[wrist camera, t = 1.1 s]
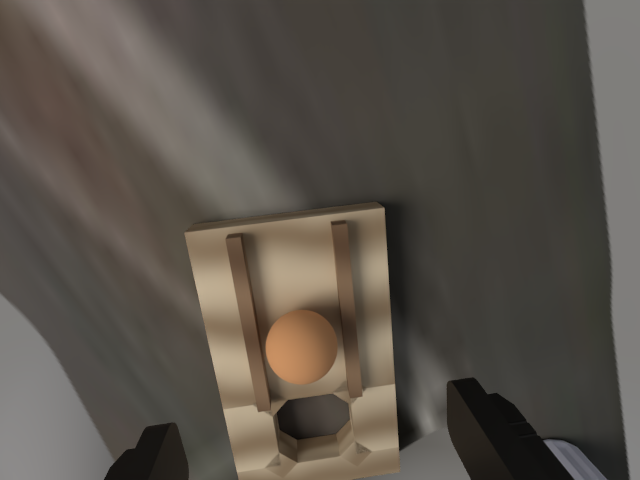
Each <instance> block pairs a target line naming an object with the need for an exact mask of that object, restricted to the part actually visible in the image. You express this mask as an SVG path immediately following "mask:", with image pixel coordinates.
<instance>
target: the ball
mask: <svg viewBox="0 0 640 480" xmlns="http://www.w3.org/2000/svg"><path fill="white" fill-rule="evenodd" d="M337 350H338V343H337V337H336V334H335V331H334V329H333V327H332V326H331V324H330V323H329V322H328V321H327V320H326V319H325V318H324V317H323V316H321V315H320V314H318V313H316V312H313V311H309V310H295V311H291V312H289V313H286V314H285V315H283V316H281V317H280V318H279V319H278V320H277V321H276V322H275V323H274V324H273V326H272V327H271V329H270V331H269V333H268V336H267V340H266V356H267V359H268V362H269V365H270V366H271V368H272V370H273V371H274V372H275V373H276V374H277V375H278V376H279V377H280V378H282V379H283V380H285V381H287V382H289V383H293V384H298V385H304V384H310V383H313V382H316V381H318V380H319V379H321V378H322V377H324V376H325V375H326V374H327V373H328V372H329V370H330V369H331V368H332V366H333V364H334V362H335V360H336V356H337Z"/></svg>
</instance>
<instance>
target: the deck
mask: <svg viewBox="0 0 640 480" xmlns="http://www.w3.org/2000/svg"><path fill="white" fill-rule="evenodd" d="M185 238H186V242H187V247H188V251H189V256H190V260H191V265H192V269H193V274H194V279H195V283H196V288H197V292H198V297H199V301H200V306H201V310H202V315H203V319H204V324H205V329H206V333H207V338H208V342H209V347H210V351H211V356H212V360H213V365H214V369H215V374H216V378H217V383H218V388H219V392H220V397H221V401H222V406H223V410H224V415H225V419H226V424H227V428H228V433H229V438H230V442H231V447H232V451H233V456H234V460H235V465H236V469H237V474H238V478H239V480H352V479H358V478H364V477H371V476H377V475H383V474H390V473H396V472H400V459H399V442H398V426H397V409H396V392H395V376H394V359H393V342H392V325H391V309H390V292H389V275H388V259H387V242H386V225H385V208H384V207H383V206H381V205H380V204H379V203H378V202H369V203H361V204H353V205H345V206H336V207H328V208H320V209H312V210H304V211H296V212H288V213H280V214H272V215H263V216H255V217H247V218H239V219H231V220H223V221H215V222H207V223H199V224H193V225H192V226H191V227H190V228H189V229H188V230H187V231H186V232H185ZM295 310H309V311H313V312H316V313H318V314H320V315H321V316H323V317H324V318H325V319H326V320H327V321H328V322H329V323H330V324H331V326H332V327H333V329H334V331H335V334H336V337H337V343H338V350H337V356H336V360H335V362H334V364H333V366H332V368H331V369H330V370H329V372H328V373H327V374H326V375H325V376H324V377H322V378H321V379H319V380H318V381H316V382H313V383H310V384H304V385H298V384H293V383H289V382H287V381H285V380H283V379H282V378H280V377H279V376H278V375H277V374H276V373H275V372H274V371H273V370H272V368H271V366H270V365H269V362H268V359H267V356H266V340H267V336H268V333H269V331H270V329H271V327H272V326H273V324H274V323H275V322H276V321H277V320H278V319H279V318H280V317H281V316H283V315H285V314H286V313H289V312H291V311H295ZM331 393H333V394H335V395H336V396H338V397H339V398H341V399H342V400H344V401H346V402H347V403H349V413H350V420H349V421H348V422H347V423H346V424H345V425H344V426H343V427H342V428H341V429H340V431H339V432H338V433H337V434H332V435H326V436H319V437H313V438H306V439H300V440H296V439H294V438H293V437H291V436H289V435H288V434H286V433H284V432H282V431H281V430H279V424H278V418H277V411H278V410H279V409H280V408H281V407H282V406H283V405H284V403H285V402H286V401H287V400H290V399H297V398H304V397H311V396H318V395H324V394H331Z"/></svg>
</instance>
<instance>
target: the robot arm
mask: <svg viewBox="0 0 640 480" xmlns="http://www.w3.org/2000/svg"><path fill="white" fill-rule="evenodd" d="M447 425H448V430H449V434H450V437H451V441H452V443H453V445H454V447H455V449H456V451H457V453H458V455H459V457H460V459H461V461H462V462H463V465H464V467H465V469H466V471H467V473H468V474H469V476H470V478H471V480H575V479H574V478H573V477H572V476H571V474H570V473H569V472H568V471H567V470H566V468H565V467H564V466H563V465H562V463H561V462H560V461H559V460H558V458H557V457H556V456H555V455H554V454H553V452H552V451H551V450H550V449H549V447H548V446H547V445H546V444H545V442H544V441H543V440H542V439H541V437H540V436H537V433H536V431H535V430H534V429H533V428H532V426H531V425H530V424H529V423H527V421H526V419H525V418H524V416H523V415H522V414H521V413H520V412H519V410H518V409H517V408H516V407H515V405H514V404H512V403H511V402H509V401H508V400H506V399H505V398H503V397H502V396H500V395H499V394H497V393H493V394H487V393H486V392H485V390H484V389H483V388H482V386H481V385H480V384H479V382H478V381H477V380H476V379H475V378H473V377H472V378H465V379H459V380H452V381H448V383H447ZM188 478H189V468H188V462H187V458H186V455H185V451H184V448H183V444H182V441H181V437H180V434H179V430H178V427H177V425H176V424H175V423H167V424H160V425H154V426H148V427H146V428H145V429H144V431H143V433H142V435H141V437H140V439H139V441H138V443H137V446H136V448H135V449H128V450H126V451H125V452H124V453H123V454H122V455H121V456H120V457H119V458H118V460H117V461H116V462H115V463H114V464H113V465H112V466H111V467H110V469H109V471H108V473H107V475H106V477H105V479H104V480H188Z"/></svg>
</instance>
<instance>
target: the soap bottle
mask: <svg viewBox="0 0 640 480" xmlns="http://www.w3.org/2000/svg"><path fill="white" fill-rule="evenodd" d="M543 441H544V442H545V444H546V445H547V446H548V447H549V449H550V450H551V451H552V452H553V454H554V455H555V456H556V457H557V458H558V460H559V461H560V462H561V463H562V465H563V466H564V467H565V468H566V470H567V471H568V472H569V473H570V474H571V476H572V477H573V478H574V479H575V480H607V479H606V478H605V477H604V476H603V475H602V474H601V472H600V471H599V470H598V469H597V468H596V467H595V466H594V465H593V464H592V463H591V462H590V460H589V459H588V458H587V457H586V456H585V455H584V454H583V453H582V452H581V451H580V450H579V449H578V447H576V446H574V445H572V444H570V443H568V442H565V441H563V440H552V439H547V440H543Z"/></svg>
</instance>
